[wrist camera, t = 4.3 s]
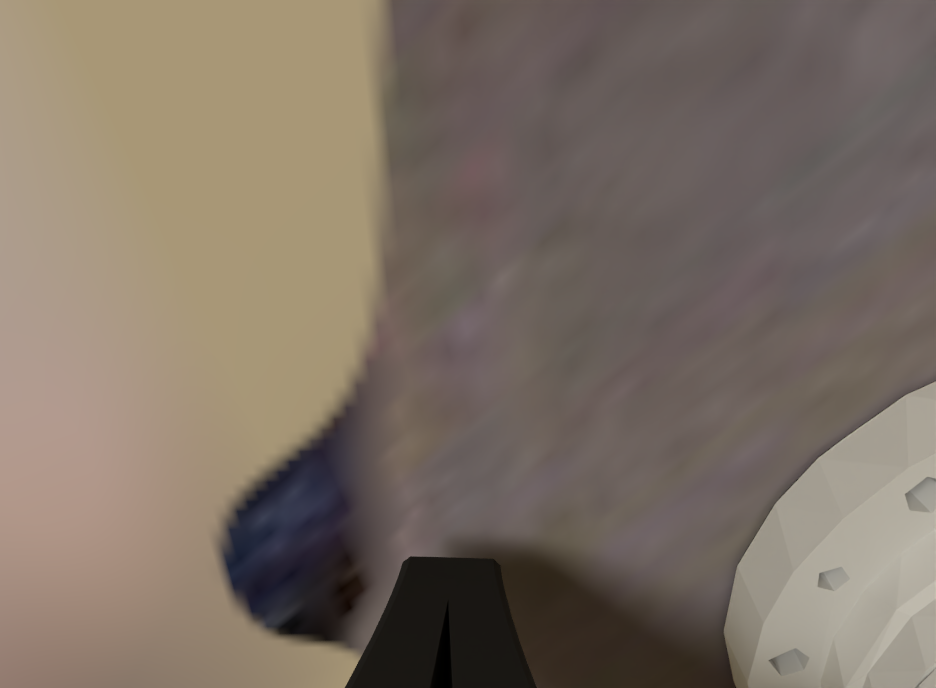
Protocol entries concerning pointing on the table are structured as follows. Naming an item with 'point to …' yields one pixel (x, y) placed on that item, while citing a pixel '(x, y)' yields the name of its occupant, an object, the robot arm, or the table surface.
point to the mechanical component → (846, 566)
